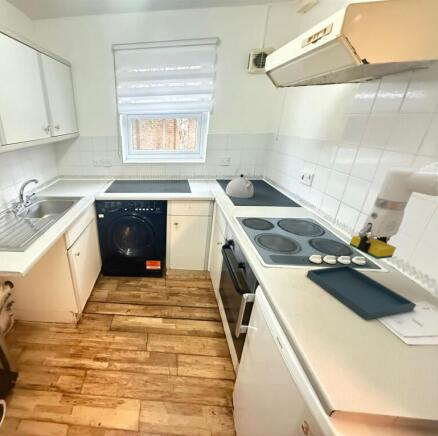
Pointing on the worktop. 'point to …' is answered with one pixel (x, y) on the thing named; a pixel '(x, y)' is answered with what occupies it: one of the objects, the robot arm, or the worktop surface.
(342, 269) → the tray
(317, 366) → the worktop surface
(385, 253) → the sponge
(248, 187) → the kettle
